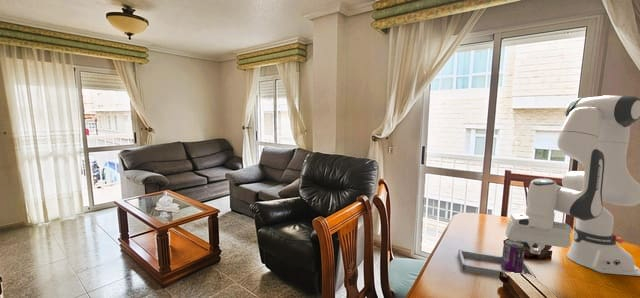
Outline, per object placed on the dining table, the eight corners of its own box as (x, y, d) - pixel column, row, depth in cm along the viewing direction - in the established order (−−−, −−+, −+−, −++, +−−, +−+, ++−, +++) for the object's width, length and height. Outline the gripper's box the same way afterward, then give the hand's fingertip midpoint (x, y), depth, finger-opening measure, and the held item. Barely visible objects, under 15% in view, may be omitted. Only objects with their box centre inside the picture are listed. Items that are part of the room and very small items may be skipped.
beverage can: (523, 278, 106) (526, 249, 105) (501, 272, 110) (504, 244, 108) (521, 269, 112) (524, 242, 111) (500, 264, 116) (503, 237, 114)
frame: (523, 265, 115) (523, 259, 115) (535, 283, 103) (536, 277, 103) (458, 254, 124) (458, 249, 123) (462, 270, 112) (462, 264, 111)
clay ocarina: (556, 262, 117) (557, 245, 116) (515, 259, 122) (516, 243, 120) (545, 250, 126) (546, 234, 125) (507, 248, 131) (508, 232, 129)
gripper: (567, 220, 105) (563, 254, 107) (506, 213, 112) (503, 245, 114) (576, 227, 99) (571, 262, 101) (511, 219, 106) (507, 252, 108)
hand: (534, 253), depth 107 cm, fingers closed
